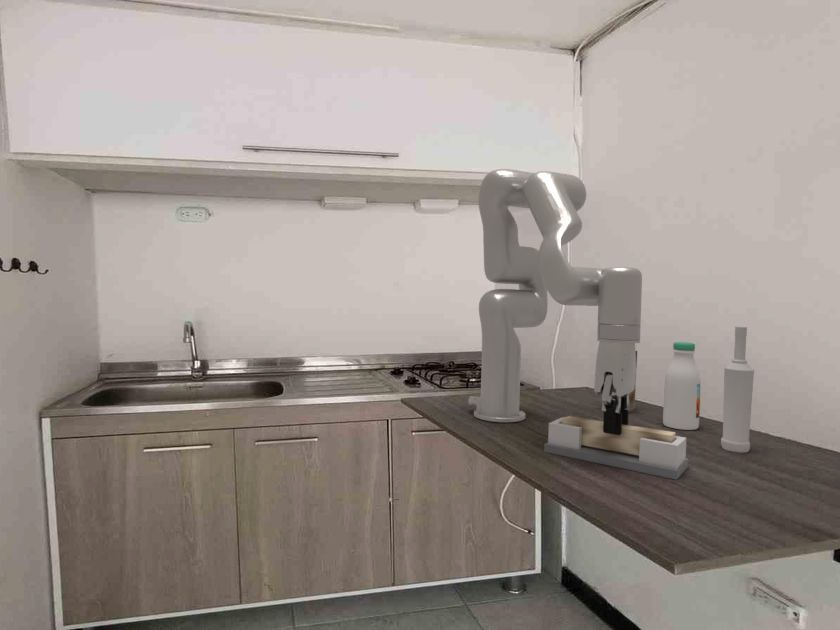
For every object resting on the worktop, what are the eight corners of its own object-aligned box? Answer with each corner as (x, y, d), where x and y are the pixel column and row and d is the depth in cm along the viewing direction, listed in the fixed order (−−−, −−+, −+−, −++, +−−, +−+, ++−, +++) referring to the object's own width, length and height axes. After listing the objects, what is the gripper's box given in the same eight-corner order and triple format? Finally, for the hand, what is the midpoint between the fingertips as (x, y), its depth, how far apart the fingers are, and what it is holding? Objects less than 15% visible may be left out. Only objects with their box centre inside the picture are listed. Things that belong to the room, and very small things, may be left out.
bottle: (754, 454, 108) (760, 328, 107) (725, 451, 109) (731, 327, 108) (744, 446, 113) (750, 326, 112) (717, 444, 114) (722, 325, 113)
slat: (561, 441, 107) (562, 418, 107) (567, 438, 110) (568, 416, 110) (670, 461, 95) (671, 435, 95) (674, 457, 98) (675, 432, 97)
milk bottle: (690, 432, 124) (694, 345, 123) (656, 425, 130) (660, 342, 129) (704, 427, 129) (708, 343, 128) (671, 421, 135) (674, 340, 134)
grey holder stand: (544, 451, 107) (544, 423, 106) (562, 442, 114) (563, 416, 113) (676, 479, 92) (678, 447, 92) (688, 466, 99) (689, 436, 99)
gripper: (612, 331, 111) (609, 421, 111) (582, 334, 97) (579, 436, 98) (651, 333, 106) (648, 426, 107) (625, 337, 93) (622, 444, 94)
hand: (615, 430), depth 102 cm, fingers closed on slat, 3 cm apart
